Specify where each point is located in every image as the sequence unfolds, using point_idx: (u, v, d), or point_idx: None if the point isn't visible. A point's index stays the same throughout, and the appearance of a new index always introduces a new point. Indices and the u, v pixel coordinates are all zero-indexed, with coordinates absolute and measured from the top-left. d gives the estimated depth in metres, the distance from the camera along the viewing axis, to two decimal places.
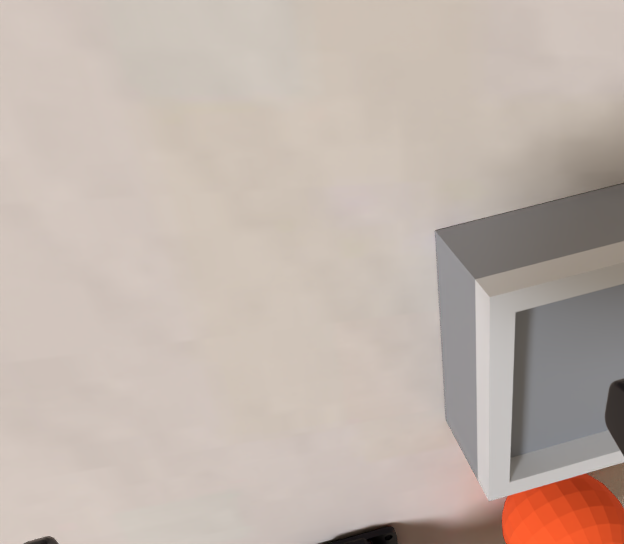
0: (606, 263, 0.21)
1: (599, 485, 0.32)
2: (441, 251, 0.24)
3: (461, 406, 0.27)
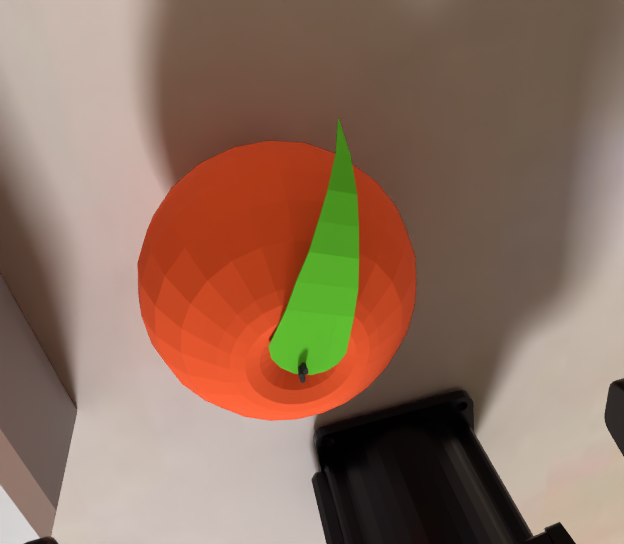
0: None
1: (150, 223, 0.14)
2: None
3: None
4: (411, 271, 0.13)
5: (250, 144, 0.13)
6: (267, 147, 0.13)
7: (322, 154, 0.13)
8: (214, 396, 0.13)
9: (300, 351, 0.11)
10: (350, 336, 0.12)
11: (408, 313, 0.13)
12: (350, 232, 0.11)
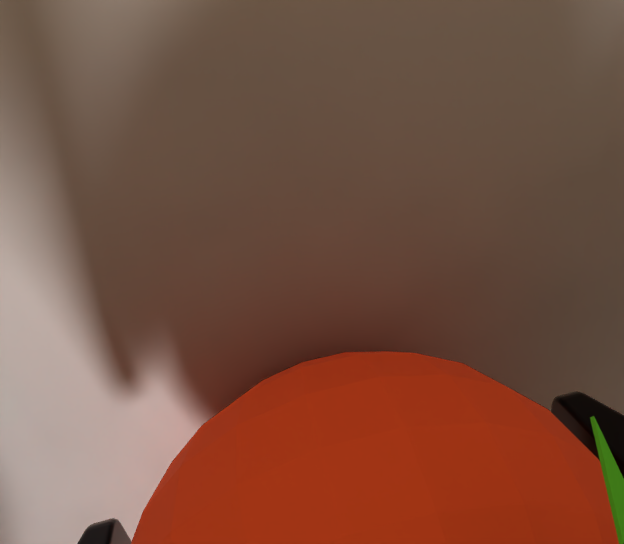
0: None
1: None
2: None
3: None
4: None
5: (341, 387, 0.07)
6: (386, 415, 0.06)
7: (503, 428, 0.06)
8: None
9: None
10: None
11: None
12: None
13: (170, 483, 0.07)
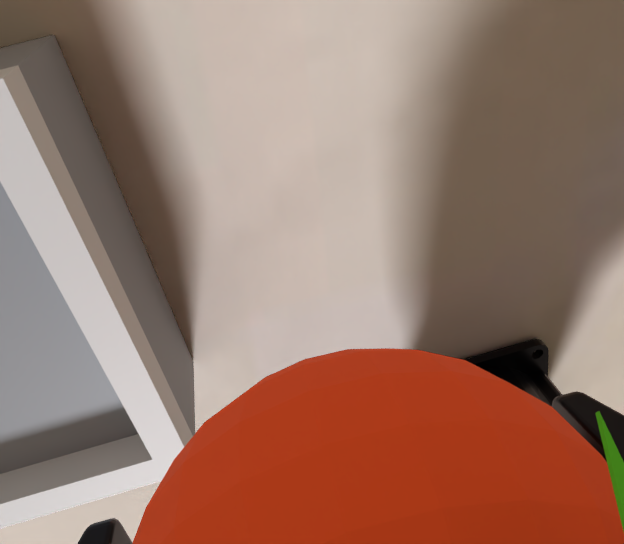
0: None
1: (139, 541, 0.07)
2: None
3: None
4: None
5: (344, 384, 0.06)
6: (389, 412, 0.06)
7: (506, 424, 0.06)
8: None
9: None
10: None
11: None
12: None
13: (173, 480, 0.07)
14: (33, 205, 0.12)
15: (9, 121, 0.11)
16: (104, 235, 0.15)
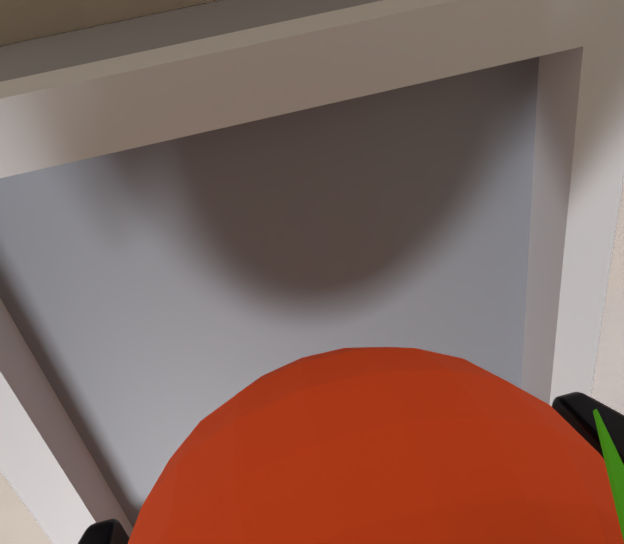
0: (28, 502, 0.11)
1: (134, 540, 0.07)
2: None
3: None
4: None
5: (341, 381, 0.06)
6: (386, 409, 0.06)
7: (504, 422, 0.06)
8: None
9: None
10: None
11: None
12: None
13: (168, 478, 0.07)
14: (595, 141, 0.09)
15: None
16: None
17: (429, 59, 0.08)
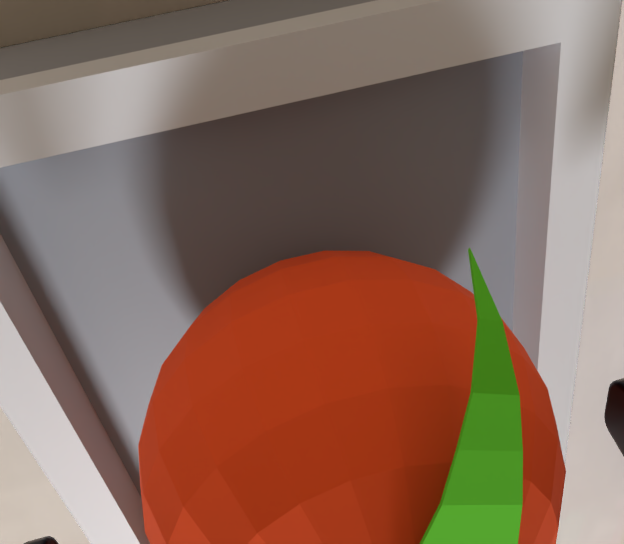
0: (46, 469, 0.12)
1: (157, 383, 0.09)
2: None
3: None
4: (563, 462, 0.08)
5: (308, 263, 0.09)
6: (339, 275, 0.08)
7: (424, 284, 0.08)
8: None
9: None
10: None
11: None
12: (509, 462, 0.06)
13: (182, 339, 0.09)
14: (574, 131, 0.10)
15: (605, 19, 0.09)
16: None
17: (419, 54, 0.09)
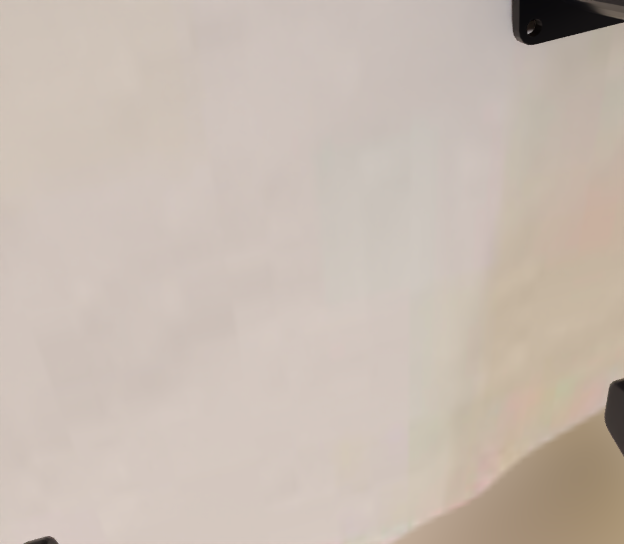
0: None
1: None
2: None
3: None
4: None
5: None
6: None
7: None
8: None
9: None
10: None
11: None
12: None
13: None
14: None
15: None
16: None
17: None
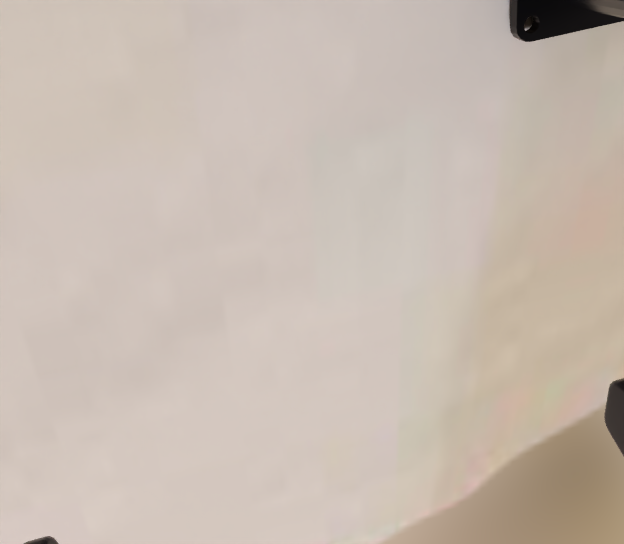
0: None
1: None
2: None
3: None
4: None
5: None
6: None
7: None
8: None
9: None
10: None
11: None
12: None
13: None
14: None
15: None
16: None
17: None
